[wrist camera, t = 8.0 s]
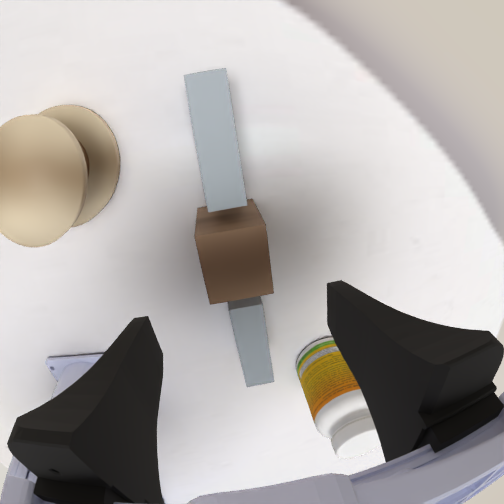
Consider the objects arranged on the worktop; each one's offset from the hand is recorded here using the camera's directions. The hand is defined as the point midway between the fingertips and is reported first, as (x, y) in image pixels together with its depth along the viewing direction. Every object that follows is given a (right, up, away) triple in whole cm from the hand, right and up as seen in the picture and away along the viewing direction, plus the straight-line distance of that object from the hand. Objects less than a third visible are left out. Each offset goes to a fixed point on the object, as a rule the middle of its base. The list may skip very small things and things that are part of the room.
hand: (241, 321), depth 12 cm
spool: (-12, +8, +5) cm, 15 cm away
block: (-1, +4, +9) cm, 10 cm away
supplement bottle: (+7, -7, +15) cm, 17 cm away
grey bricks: (-1, +4, +9) cm, 9 cm away
